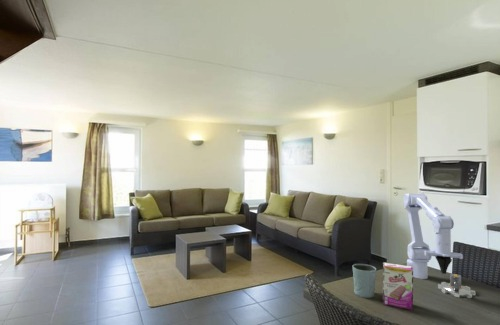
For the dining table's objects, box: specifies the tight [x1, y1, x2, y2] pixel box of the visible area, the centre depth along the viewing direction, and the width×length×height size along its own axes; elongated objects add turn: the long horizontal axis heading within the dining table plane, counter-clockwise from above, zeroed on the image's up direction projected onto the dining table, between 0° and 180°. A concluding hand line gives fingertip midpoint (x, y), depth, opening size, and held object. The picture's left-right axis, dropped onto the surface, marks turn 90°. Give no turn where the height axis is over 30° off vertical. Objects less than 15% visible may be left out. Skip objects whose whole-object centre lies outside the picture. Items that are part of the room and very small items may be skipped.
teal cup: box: [352, 263, 377, 299], centre depth 130 cm, size 10×10×12 cm
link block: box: [449, 272, 462, 288], centre depth 133 cm, size 4×4×5 cm
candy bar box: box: [382, 262, 414, 311], centre depth 119 cm, size 11×5×16 cm, turn 65°
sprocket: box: [437, 281, 476, 299], centre depth 130 cm, size 14×14×6 cm
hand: (443, 273), depth 128 cm, fingers closed
